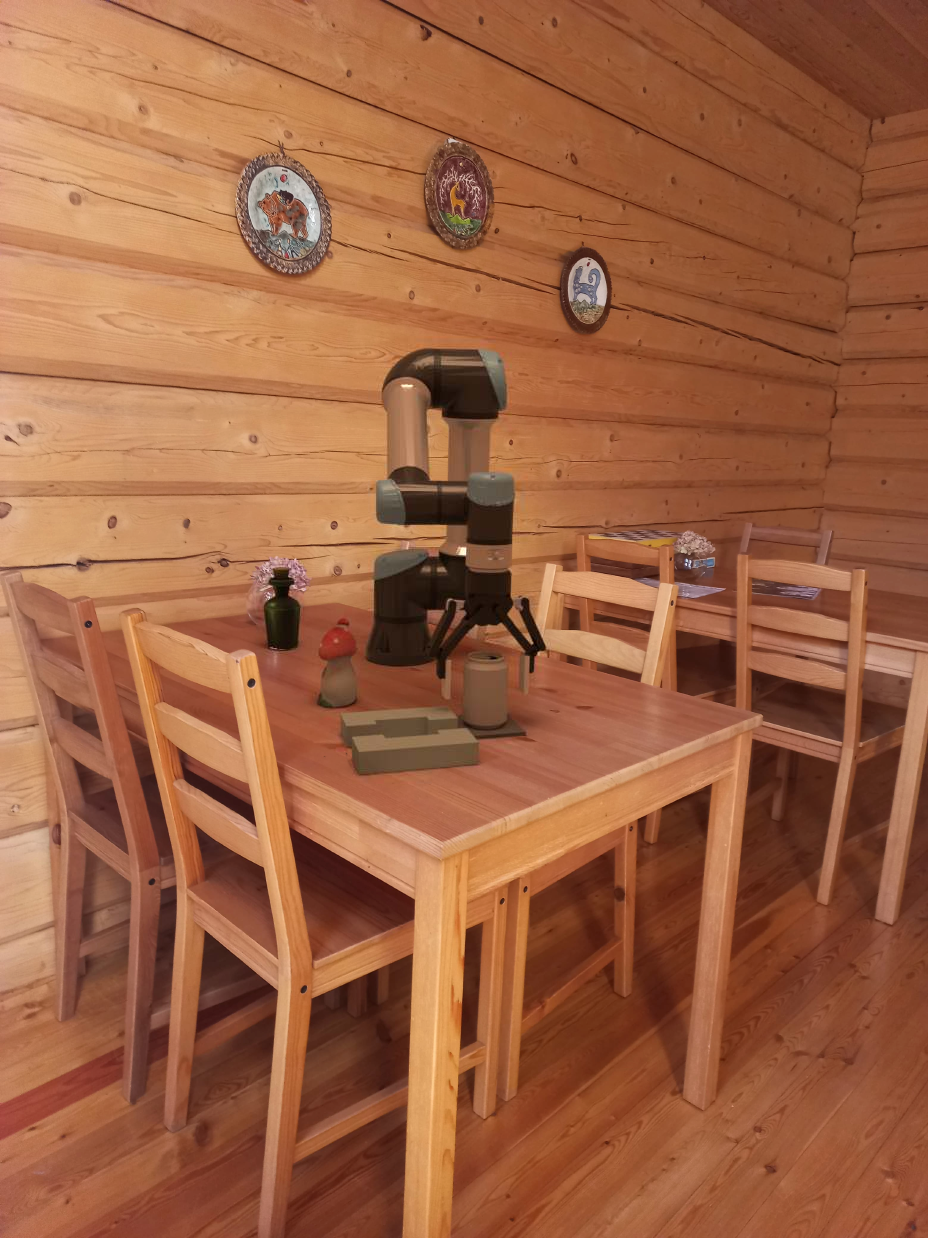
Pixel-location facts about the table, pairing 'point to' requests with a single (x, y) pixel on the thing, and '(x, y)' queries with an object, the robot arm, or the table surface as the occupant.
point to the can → (485, 690)
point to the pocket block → (407, 740)
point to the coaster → (494, 729)
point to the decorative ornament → (338, 667)
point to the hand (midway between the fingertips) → (485, 694)
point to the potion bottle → (282, 612)
